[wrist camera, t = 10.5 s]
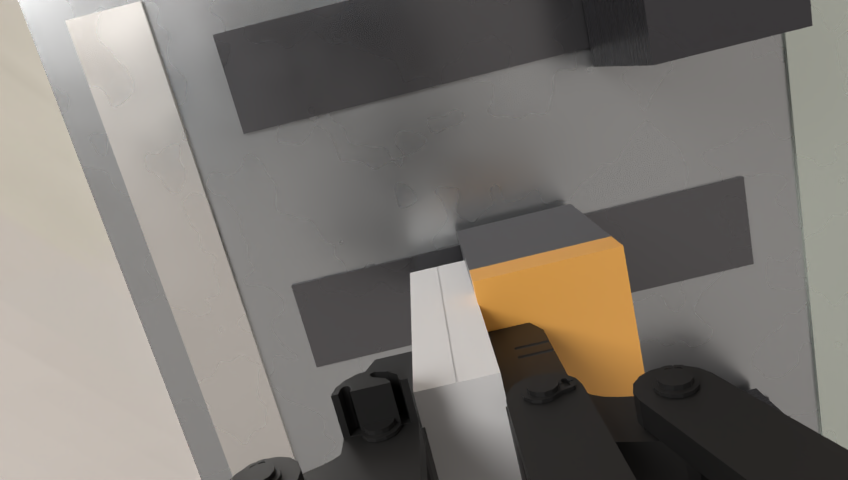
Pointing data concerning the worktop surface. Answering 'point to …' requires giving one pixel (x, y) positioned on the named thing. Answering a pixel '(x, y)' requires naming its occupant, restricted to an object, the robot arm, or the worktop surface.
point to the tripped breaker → (560, 292)
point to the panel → (455, 183)
